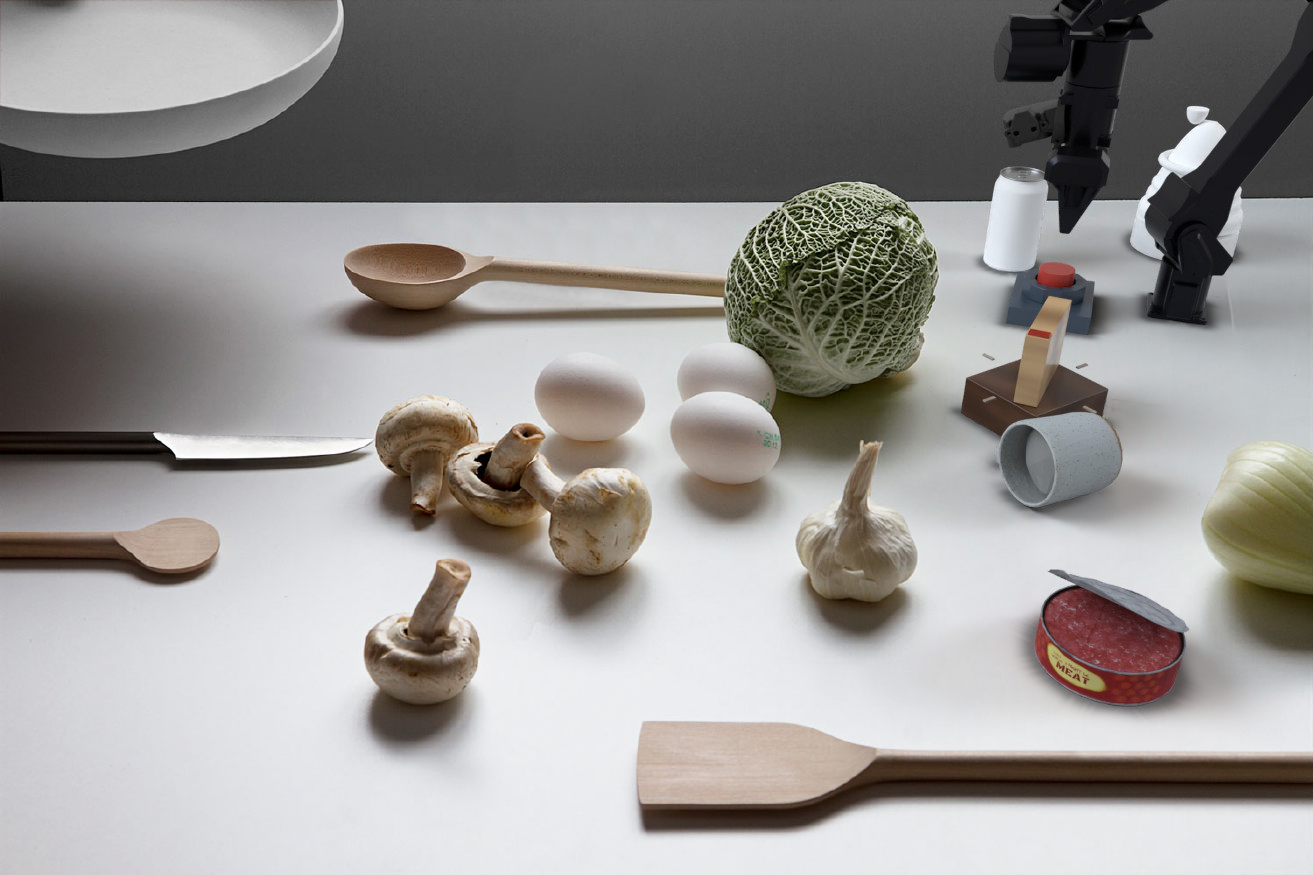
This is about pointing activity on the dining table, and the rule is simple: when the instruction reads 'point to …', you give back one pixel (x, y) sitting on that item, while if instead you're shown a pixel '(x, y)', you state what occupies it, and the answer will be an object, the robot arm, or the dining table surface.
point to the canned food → (1109, 642)
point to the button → (1056, 274)
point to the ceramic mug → (1058, 457)
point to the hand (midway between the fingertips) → (1066, 222)
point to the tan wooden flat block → (1042, 351)
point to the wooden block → (997, 410)
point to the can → (1015, 219)
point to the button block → (1034, 294)
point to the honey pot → (1182, 163)
